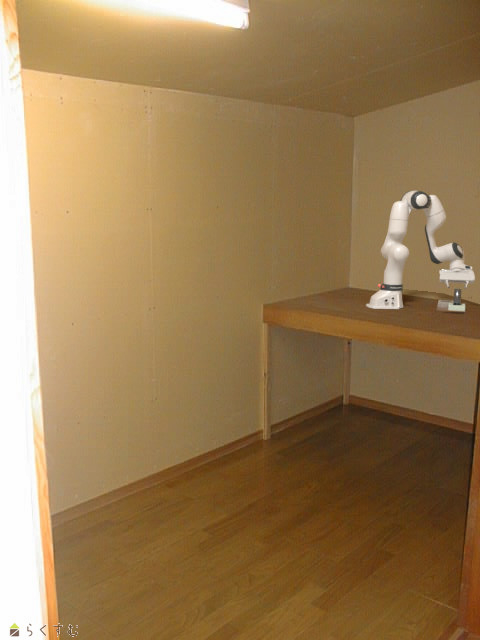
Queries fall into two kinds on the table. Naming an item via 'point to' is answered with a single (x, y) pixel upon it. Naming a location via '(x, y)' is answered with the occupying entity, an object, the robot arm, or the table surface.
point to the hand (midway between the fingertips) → (456, 287)
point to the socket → (444, 303)
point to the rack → (456, 307)
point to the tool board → (450, 310)
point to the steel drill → (457, 297)
